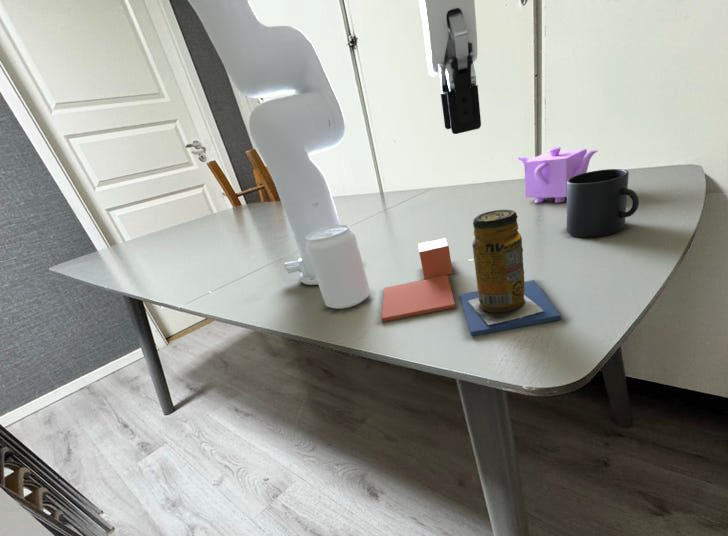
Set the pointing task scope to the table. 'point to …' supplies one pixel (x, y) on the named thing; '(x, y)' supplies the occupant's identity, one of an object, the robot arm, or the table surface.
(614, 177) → the mug
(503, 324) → the slate mat
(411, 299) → the terracotta mat
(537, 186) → the teapot
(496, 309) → the condiment
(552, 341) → the table surface
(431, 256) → the terracotta block
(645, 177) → the table surface
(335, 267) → the beverage can
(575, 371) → the table surface
